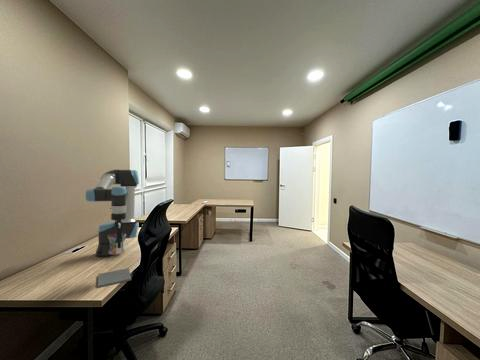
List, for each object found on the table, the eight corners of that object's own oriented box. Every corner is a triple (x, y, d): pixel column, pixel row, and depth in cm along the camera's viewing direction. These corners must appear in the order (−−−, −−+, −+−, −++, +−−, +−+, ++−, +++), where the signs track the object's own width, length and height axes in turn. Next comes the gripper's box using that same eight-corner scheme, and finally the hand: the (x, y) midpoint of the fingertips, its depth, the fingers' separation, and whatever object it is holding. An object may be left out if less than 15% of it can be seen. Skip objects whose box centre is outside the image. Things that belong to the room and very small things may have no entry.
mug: (118, 256, 118) (118, 237, 118) (103, 255, 120) (103, 236, 120) (132, 249, 130) (132, 232, 130) (118, 248, 132) (118, 231, 132)
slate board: (98, 275, 126) (98, 273, 126) (128, 269, 134) (128, 268, 134) (97, 287, 112) (97, 285, 112) (131, 280, 121) (131, 278, 121)
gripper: (110, 210, 131) (109, 246, 131) (112, 216, 113) (111, 258, 114) (123, 209, 135) (123, 244, 135) (128, 214, 118) (127, 255, 118)
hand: (118, 250), depth 124 cm, fingers closed on mug, 8 cm apart
